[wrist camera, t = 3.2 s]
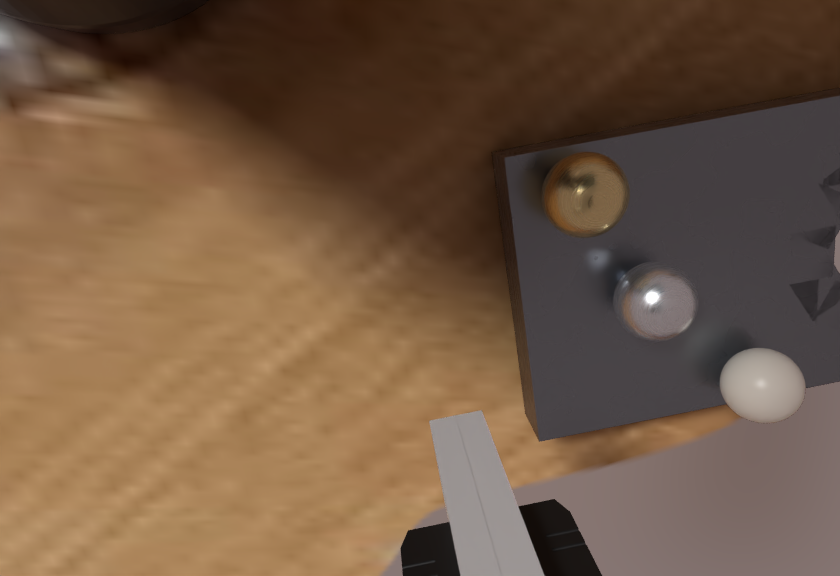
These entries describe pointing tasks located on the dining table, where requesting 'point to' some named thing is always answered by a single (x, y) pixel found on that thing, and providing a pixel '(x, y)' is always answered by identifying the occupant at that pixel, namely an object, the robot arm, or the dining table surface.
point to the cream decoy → (762, 385)
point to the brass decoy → (585, 194)
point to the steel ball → (655, 301)
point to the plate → (678, 260)
